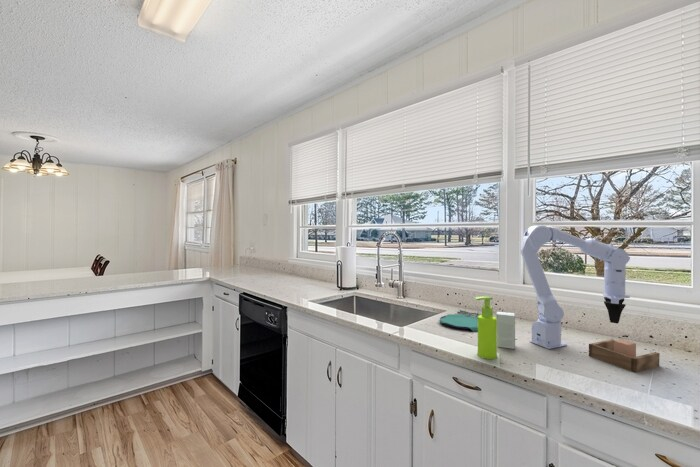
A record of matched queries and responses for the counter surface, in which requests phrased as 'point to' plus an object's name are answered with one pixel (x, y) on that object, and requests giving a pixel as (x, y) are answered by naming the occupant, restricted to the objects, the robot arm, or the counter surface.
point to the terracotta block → (625, 347)
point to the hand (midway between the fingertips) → (614, 320)
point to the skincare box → (506, 330)
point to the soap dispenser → (487, 330)
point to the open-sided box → (622, 357)
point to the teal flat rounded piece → (461, 320)
